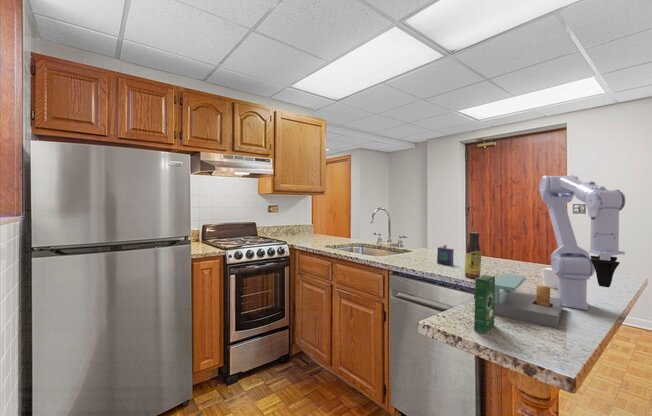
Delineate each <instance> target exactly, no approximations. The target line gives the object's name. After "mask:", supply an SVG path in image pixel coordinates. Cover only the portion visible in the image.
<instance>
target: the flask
mask: <svg viewBox="0 0 652 416" xmlns="http://www.w3.org/2000/svg"><path fill="white" fill-rule="evenodd" d="M454 251H455V250H454V248H448V245H447V244H443V246H438V247H437V254H436V255H437V256H436V257H437V258H436V259H437V260H436V262H437V263H436V264H438V265H445V266H450V267H451V266H452V267H453V266H454V253H455V252H454Z"/></svg>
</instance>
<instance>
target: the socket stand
mask: <svg viewBox="0 0 652 416" xmlns="http://www.w3.org/2000/svg"><path fill="white" fill-rule="evenodd" d="M526 278H527V276H526V275H517V274H511V273H502V274H500V275H499V276H498V277H497V278H496V277H495V311H494V315H497V316H501V317H506V318H510V319H514V320H520V321H524V322H527V323H533V324H538V325H541V326H542V325H543V326H547V327H552V328H558V325H559V323H560V322H559V321H560V319H561V316H562V315H561V314H562V312H563V306H562V299H558V298H557V297H551V296H550V307H546V306H541V305H536V295H537V294H533V293H527V292H521V291H516V290H518V288H520V286H521V285H522V284H523V283H524V282H525V281H526V280H527V279H526ZM500 290H501V291H500Z"/></svg>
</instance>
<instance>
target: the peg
mask: <svg viewBox="0 0 652 416" xmlns="http://www.w3.org/2000/svg"><path fill="white" fill-rule="evenodd" d="M535 295H536V305H541V306H546V307H550V297H551V288H550V287H547V286H543V284H542V285H536V294H535Z"/></svg>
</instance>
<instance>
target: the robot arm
mask: <svg viewBox="0 0 652 416" xmlns="http://www.w3.org/2000/svg"><path fill="white" fill-rule="evenodd" d="M538 189H539V190H538V191H539V194H540V198H541V200H542V202H543V203H545V204H546V206H547V210H548V214H549V218H550V222H551V225H552V229H553V232H554V236H555V240H556V244H557V248H556V249H555V250H553V252H552V253H550V261H551V262H550V264H551V265H550V268H552V270H553V272H554V273H555V274H556V275H557V276H558V289H557V297H556V298H558V299H562V307H566V308H572V309H577V310H583V311H588V310H589V302H588V301H587V293H588V292H587V291H588V289H587V286H588V285H587V284H588V281H587V280H590V279H591V277H592V276H593V275H594V274H596V275H595V276H596V279H597V284H598V286H599V287H601V288H602V287H603V288H610V287H611V284H612V282H613V281H612V280H613V276H614V273H615V271H616V269H617V267H619V265H620V261H617V260H618V257H617V256H619V255H623V256H624V255H625V253H626V252H625V251H622V250H621V251H619V249H620V247H619V245H620V244H619V243H620V242H619V241H620V240H619V238H620V235H619V234H620V211H622V210H623V209H624V207H625V206H626V196H625V194H624V193H623V192H622V191H621V190H620V189H613V190H609V189H607V188H606V187H605V186H604V185H602V186H601V185H598V184H596V182H595V181H591V180H587V181H584V182H582V181H580V180H579V177H578V176H576V175H573V174H571V175H542V177H541V178H540V179H539V185H538ZM574 196H575V197H574ZM574 198H575V199H577V200H579V201H581V202H583V203H584V204H585V207H586V208H587V212H588V213H587V214H588V218H590V244H589V245H590V246H589V247H590V249H589V251H587V250H585V249H584V248H582V247H581V246H578V242H577V239H576V235H575V233H574V230H573V227H572V223H571V220H570V216H569V213H568V209H567V207H566V205H567V204H568V203H571V202H572V201H573V199H574ZM589 253H592V254H595V255H590V254H589Z"/></svg>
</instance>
